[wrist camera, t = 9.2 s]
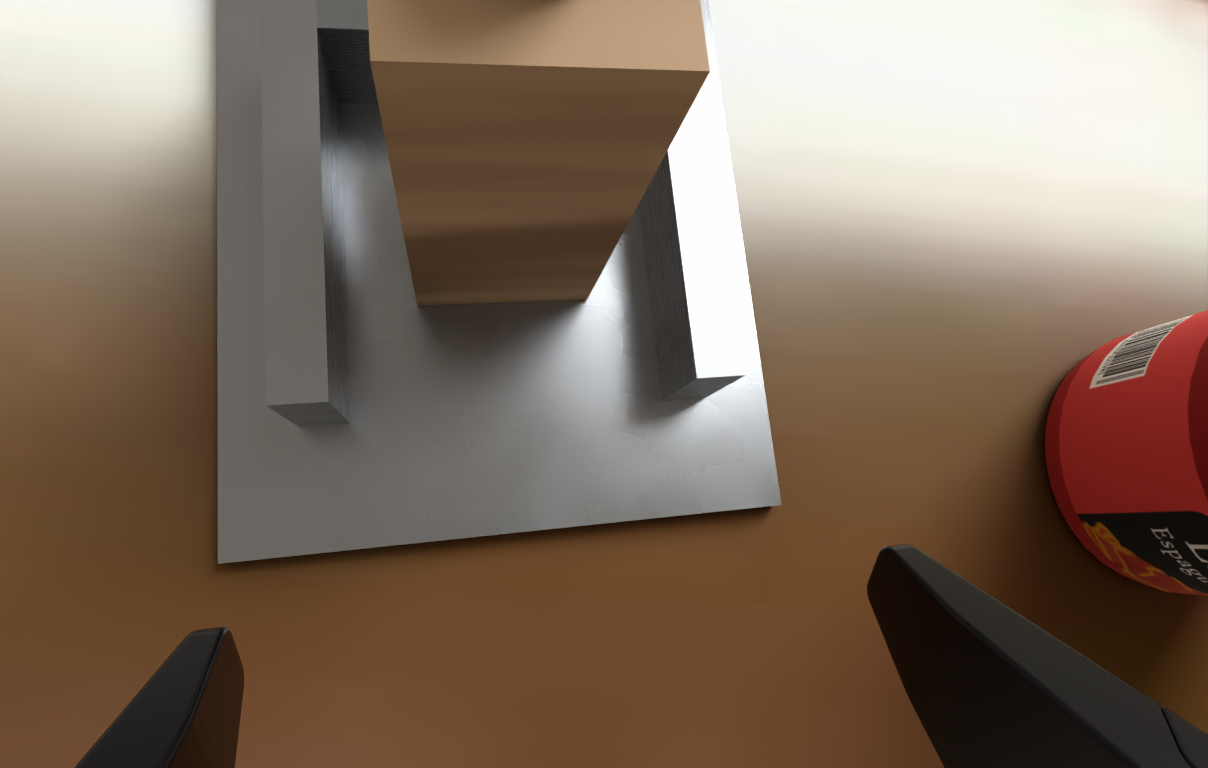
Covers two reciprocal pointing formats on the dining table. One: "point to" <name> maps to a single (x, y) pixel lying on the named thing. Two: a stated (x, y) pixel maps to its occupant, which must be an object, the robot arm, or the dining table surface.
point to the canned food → (1138, 454)
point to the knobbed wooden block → (527, 133)
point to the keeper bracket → (456, 331)
